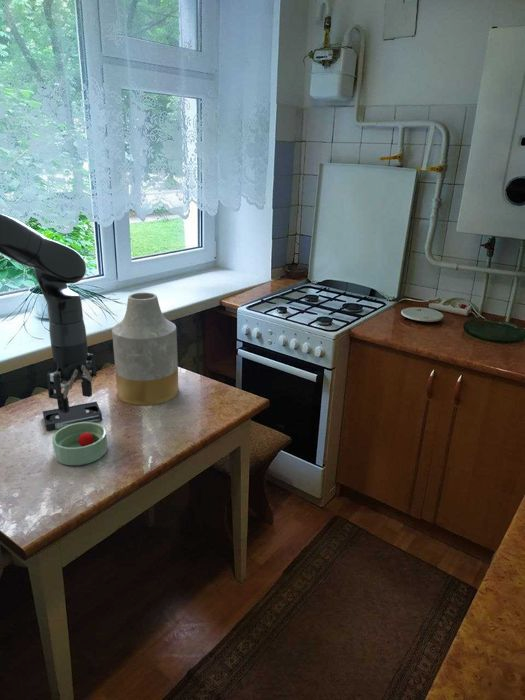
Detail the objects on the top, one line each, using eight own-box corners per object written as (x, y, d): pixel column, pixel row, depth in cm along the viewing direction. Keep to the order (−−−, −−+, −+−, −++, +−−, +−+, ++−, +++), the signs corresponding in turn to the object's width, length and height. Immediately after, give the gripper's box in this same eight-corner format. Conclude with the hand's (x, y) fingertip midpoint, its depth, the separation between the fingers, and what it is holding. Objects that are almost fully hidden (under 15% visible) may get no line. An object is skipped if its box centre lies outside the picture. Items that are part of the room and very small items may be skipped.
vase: (104, 395, 149) (94, 298, 138) (145, 374, 164) (140, 284, 153) (151, 411, 141) (145, 309, 130) (190, 387, 156) (188, 293, 145)
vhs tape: (46, 431, 129) (45, 424, 129) (43, 417, 136) (42, 411, 135) (102, 420, 136) (101, 413, 135) (97, 407, 142) (96, 401, 141)
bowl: (88, 471, 114) (86, 453, 112) (43, 461, 117) (40, 443, 115) (117, 444, 125) (115, 426, 123) (75, 435, 128) (73, 418, 126)
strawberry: (88, 438, 120) (98, 431, 123) (75, 434, 120) (85, 428, 124) (87, 451, 121) (97, 444, 124) (75, 447, 121) (85, 441, 125)
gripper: (74, 327, 118) (81, 389, 123) (31, 347, 105) (41, 415, 111) (101, 331, 116) (107, 393, 121) (62, 352, 103) (70, 420, 109)
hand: (76, 403), depth 116 cm, fingers open, 8 cm apart
